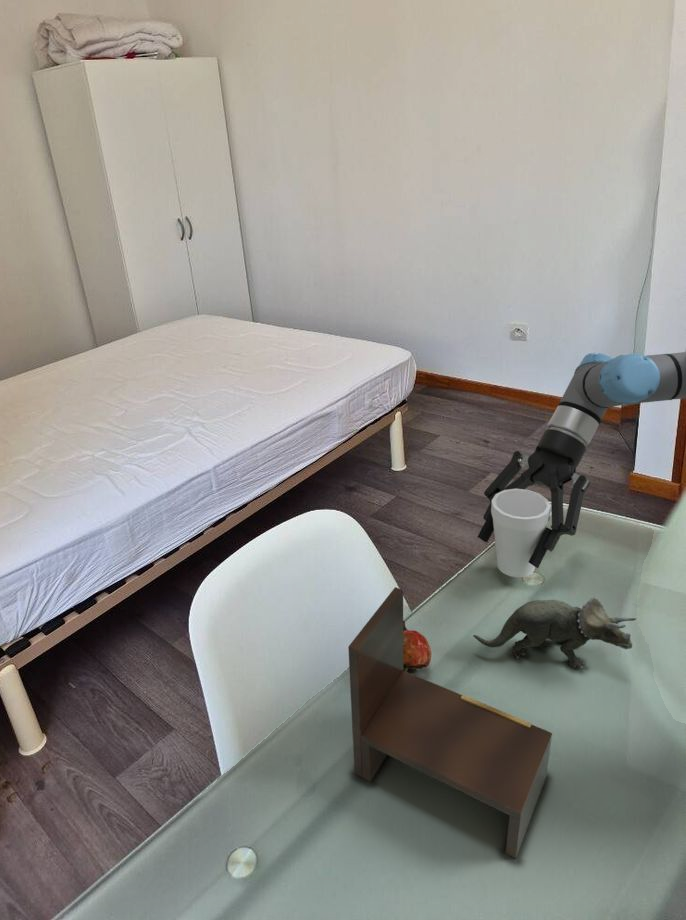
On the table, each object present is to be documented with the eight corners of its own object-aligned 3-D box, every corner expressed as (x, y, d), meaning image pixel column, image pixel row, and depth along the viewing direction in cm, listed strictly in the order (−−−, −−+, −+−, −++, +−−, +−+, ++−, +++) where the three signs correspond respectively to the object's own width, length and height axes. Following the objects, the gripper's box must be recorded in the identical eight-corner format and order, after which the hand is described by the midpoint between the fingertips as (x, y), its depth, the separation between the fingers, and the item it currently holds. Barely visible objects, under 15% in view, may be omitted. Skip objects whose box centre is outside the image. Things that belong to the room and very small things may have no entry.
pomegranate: (434, 695, 102) (435, 626, 107) (427, 689, 96) (428, 617, 101) (385, 691, 105) (387, 624, 109) (375, 686, 98) (378, 615, 103)
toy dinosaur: (471, 659, 105) (474, 602, 100) (476, 621, 112) (479, 566, 108) (626, 687, 99) (638, 627, 94) (621, 645, 106) (632, 587, 101)
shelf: (546, 776, 87) (563, 646, 77) (515, 859, 78) (531, 723, 69) (396, 708, 98) (395, 586, 88) (354, 773, 89) (348, 646, 79)
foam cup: (477, 558, 123) (481, 496, 118) (521, 544, 126) (526, 483, 120) (509, 589, 115) (514, 524, 110) (555, 574, 118) (562, 510, 112)
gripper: (634, 466, 114) (573, 587, 112) (519, 427, 129) (463, 532, 127) (622, 450, 109) (558, 575, 106) (504, 410, 124) (445, 520, 122)
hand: (506, 552), depth 117 cm, fingers closed on foam cup, 9 cm apart
